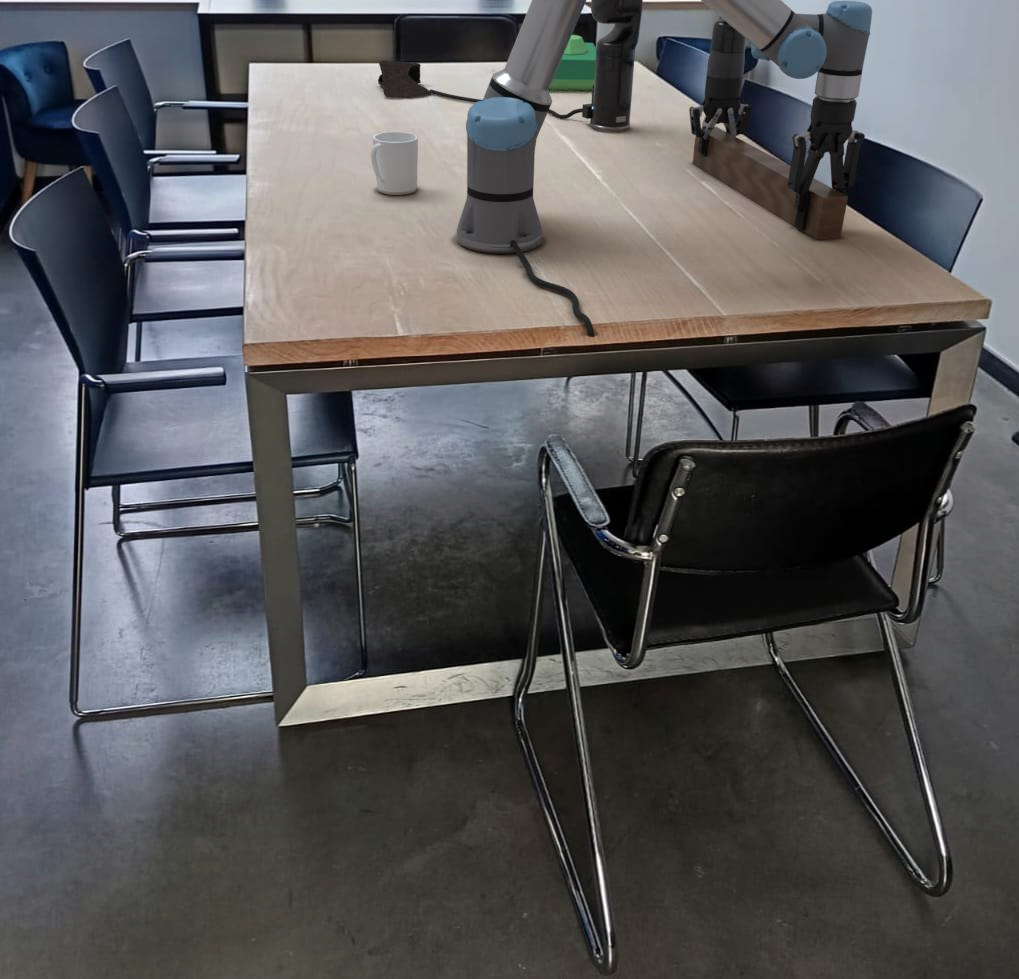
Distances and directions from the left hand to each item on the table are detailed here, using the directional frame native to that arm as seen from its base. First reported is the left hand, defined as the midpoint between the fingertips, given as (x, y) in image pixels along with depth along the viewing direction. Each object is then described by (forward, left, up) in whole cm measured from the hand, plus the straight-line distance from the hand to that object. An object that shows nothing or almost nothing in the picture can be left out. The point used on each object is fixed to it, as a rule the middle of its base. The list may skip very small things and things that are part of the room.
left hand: (813, 226), depth 204 cm
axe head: (+102, +99, -1) cm, 142 cm away
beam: (+19, +9, -1) cm, 21 cm away
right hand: (+38, +17, +3) cm, 42 cm away
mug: (+9, +82, -1) cm, 83 cm away
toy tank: (+127, +57, -1) cm, 139 cm away
